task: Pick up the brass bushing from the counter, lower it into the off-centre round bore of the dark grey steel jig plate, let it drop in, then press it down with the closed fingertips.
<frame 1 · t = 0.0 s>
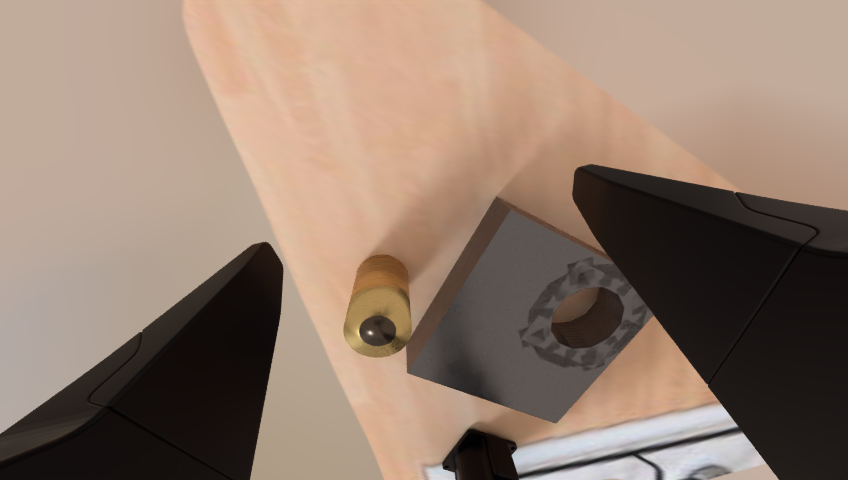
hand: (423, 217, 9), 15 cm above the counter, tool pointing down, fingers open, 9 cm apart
bushing: (382, 278, 27), on the counter
jig: (522, 309, 30), on the counter
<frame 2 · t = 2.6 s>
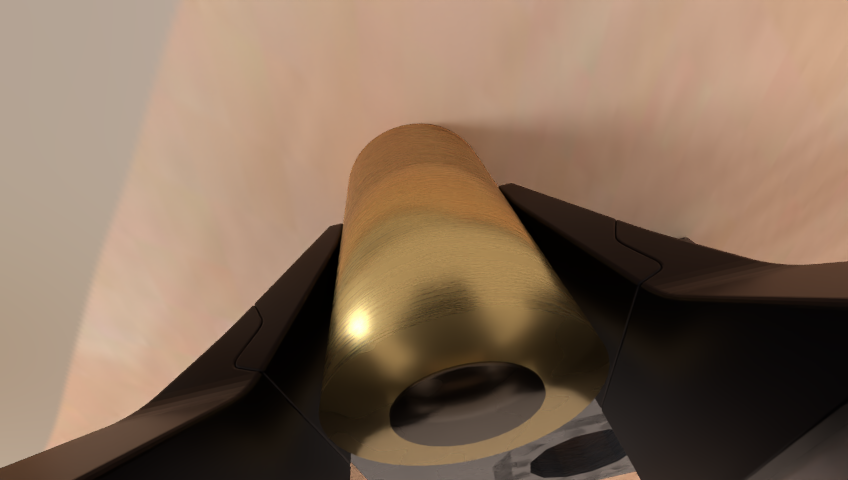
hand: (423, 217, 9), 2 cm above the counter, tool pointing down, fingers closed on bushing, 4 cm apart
bushing: (417, 192, 11), on the counter, touching gripper
jig: (506, 378, 18), on the counter
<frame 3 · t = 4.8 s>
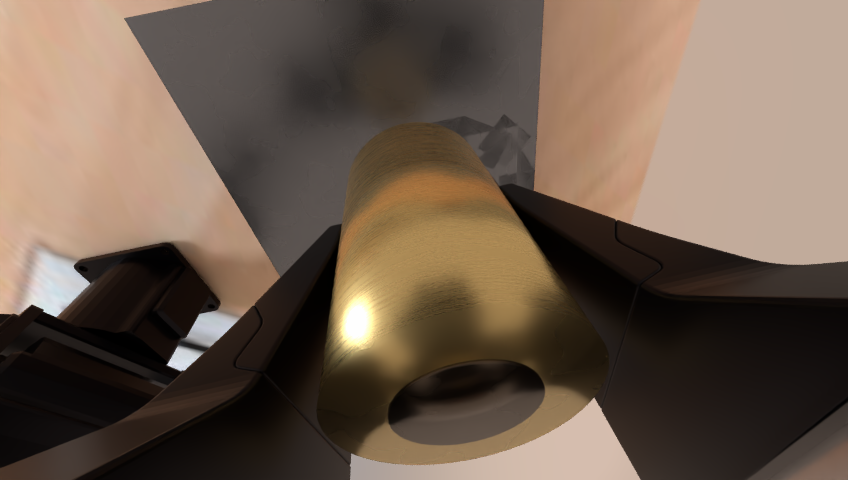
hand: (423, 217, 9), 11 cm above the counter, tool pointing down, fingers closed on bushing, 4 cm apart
bushing: (416, 190, 10), point 10 cm above the counter, touching gripper
jig: (384, 147, 20), on the counter
when the fingers open (4 cm above the counter, at t = 7.3 s): bushing drops 2 cm, resting in jig.
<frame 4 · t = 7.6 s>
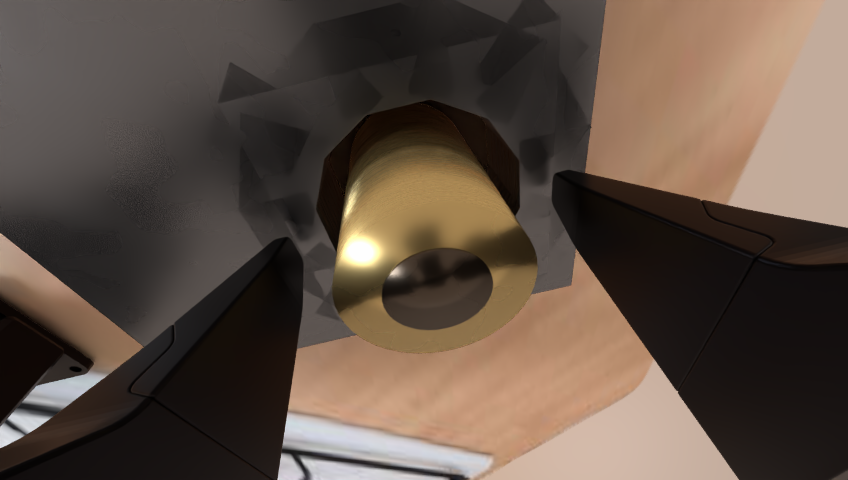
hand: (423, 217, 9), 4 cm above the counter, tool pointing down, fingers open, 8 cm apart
bushing: (408, 161, 12), resting in jig
jig: (304, 100, 11), on the counter
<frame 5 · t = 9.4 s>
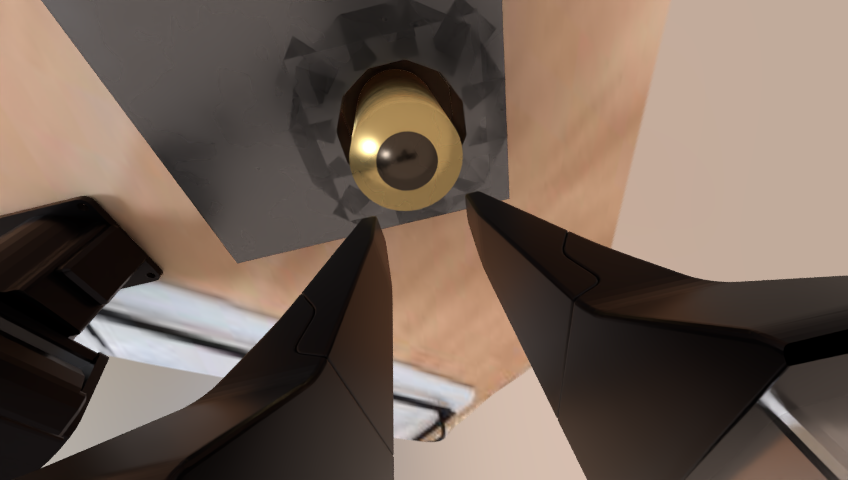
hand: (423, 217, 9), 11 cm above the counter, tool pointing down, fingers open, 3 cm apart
bushing: (396, 112, 18), resting in jig
jig: (326, 67, 16), on the counter
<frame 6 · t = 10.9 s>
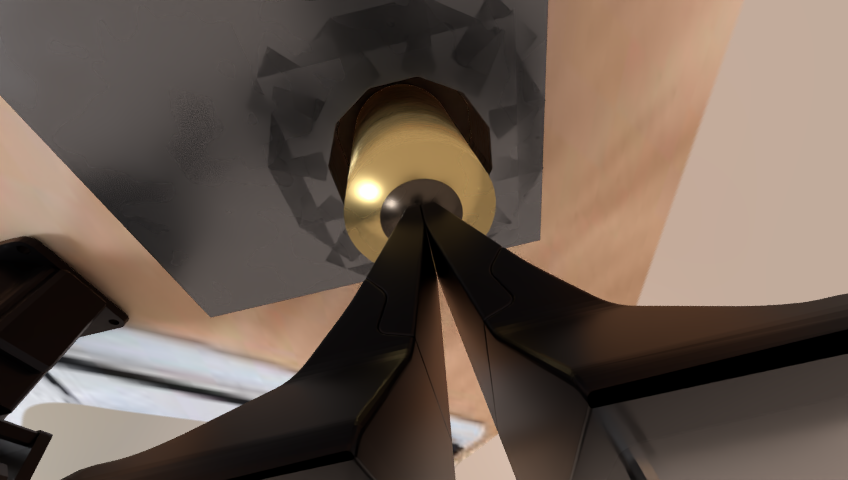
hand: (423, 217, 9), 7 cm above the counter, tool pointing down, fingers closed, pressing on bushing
bushing: (403, 136, 15), resting in jig, touching gripper
jig: (317, 82, 13), on the counter
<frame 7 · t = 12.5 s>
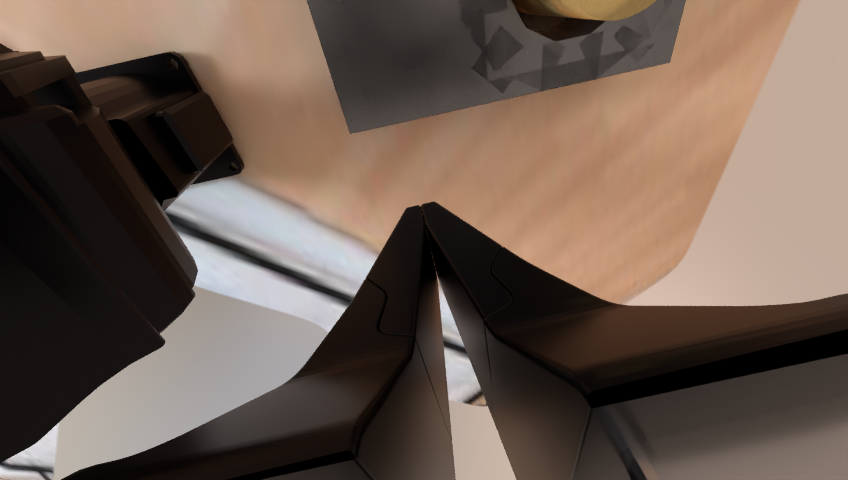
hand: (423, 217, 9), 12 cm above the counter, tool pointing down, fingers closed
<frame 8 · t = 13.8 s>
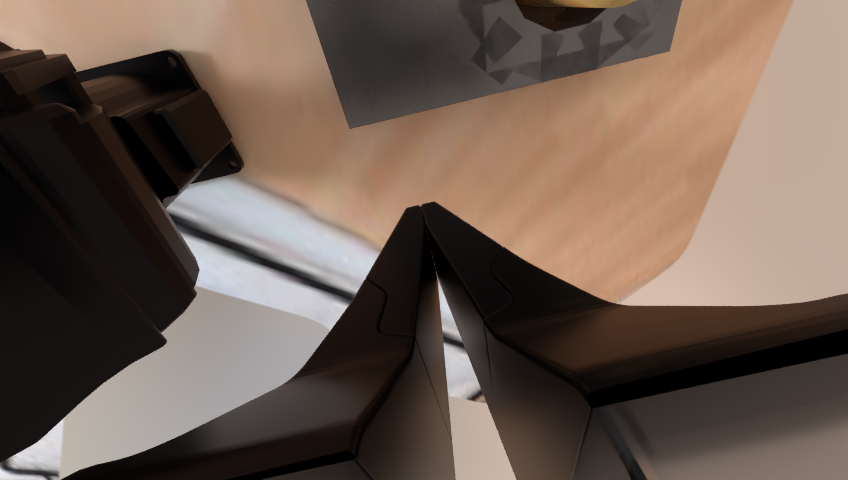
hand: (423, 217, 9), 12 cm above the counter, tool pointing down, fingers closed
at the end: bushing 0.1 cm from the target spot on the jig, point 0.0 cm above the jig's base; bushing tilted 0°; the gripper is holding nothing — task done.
